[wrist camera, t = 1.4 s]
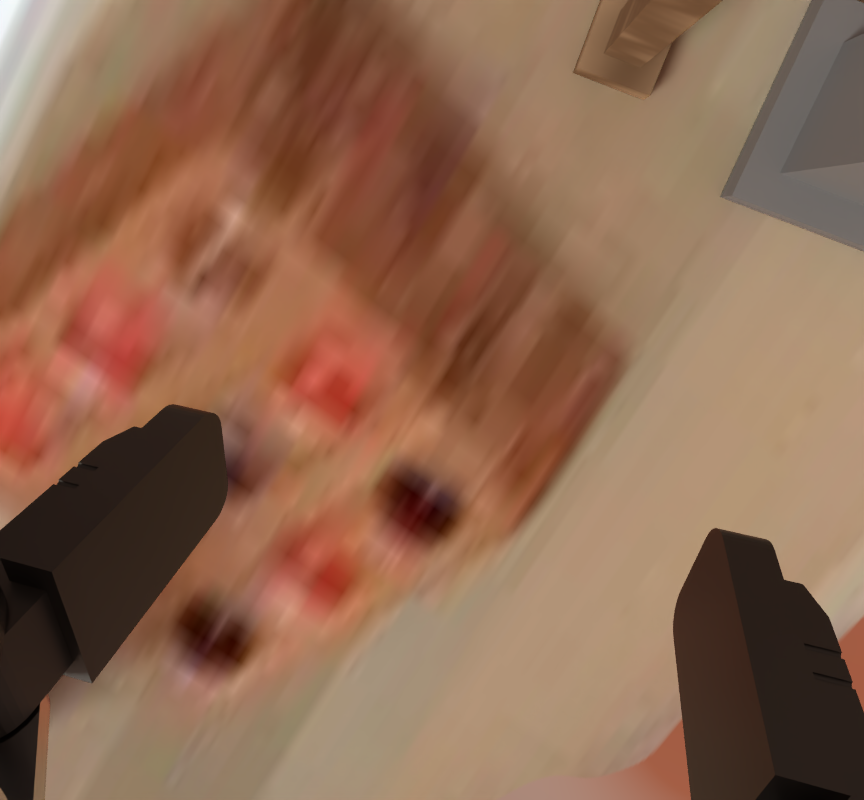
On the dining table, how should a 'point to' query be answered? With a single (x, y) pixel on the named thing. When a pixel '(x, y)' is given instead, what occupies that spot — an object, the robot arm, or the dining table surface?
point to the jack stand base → (812, 131)
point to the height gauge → (635, 41)
